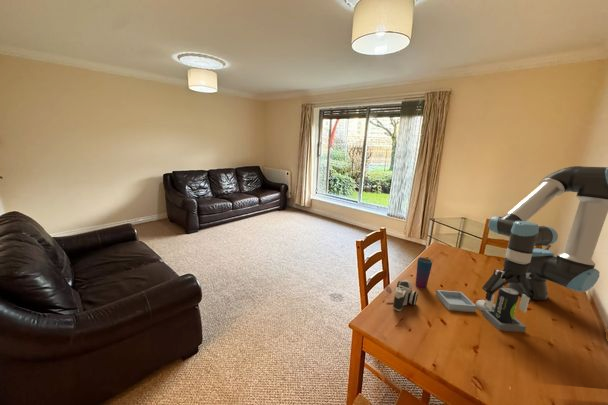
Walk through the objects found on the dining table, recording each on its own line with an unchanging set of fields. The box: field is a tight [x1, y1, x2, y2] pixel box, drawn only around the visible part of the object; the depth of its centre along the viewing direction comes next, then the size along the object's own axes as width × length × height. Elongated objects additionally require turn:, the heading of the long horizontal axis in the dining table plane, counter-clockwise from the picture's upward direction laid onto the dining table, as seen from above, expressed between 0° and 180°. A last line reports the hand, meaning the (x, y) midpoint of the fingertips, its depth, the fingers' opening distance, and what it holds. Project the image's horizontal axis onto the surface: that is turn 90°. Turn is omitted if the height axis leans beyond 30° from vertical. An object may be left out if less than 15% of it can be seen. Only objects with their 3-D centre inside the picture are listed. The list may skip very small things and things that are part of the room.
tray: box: [435, 289, 477, 313], centre depth 114 cm, size 12×12×3 cm
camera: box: [392, 279, 419, 312], centre depth 111 cm, size 16×9×10 cm, turn 147°
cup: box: [415, 256, 433, 290], centre depth 126 cm, size 7×7×15 cm
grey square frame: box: [475, 299, 527, 333], centre depth 106 cm, size 10×18×3 cm, turn 178°
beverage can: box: [493, 286, 520, 324], centre depth 100 cm, size 6×6×15 cm
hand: (505, 309), depth 101 cm, fingers open, 13 cm apart
